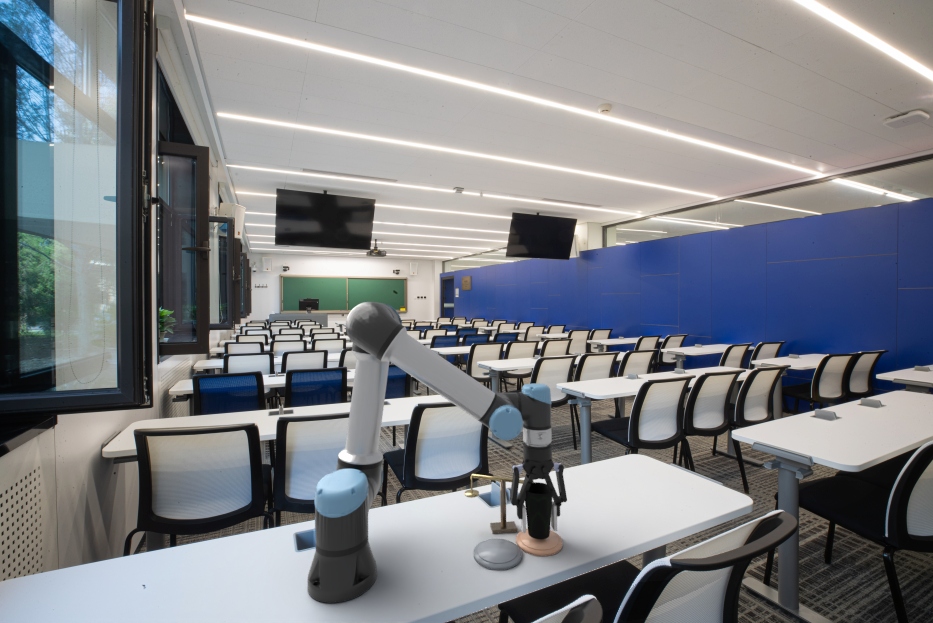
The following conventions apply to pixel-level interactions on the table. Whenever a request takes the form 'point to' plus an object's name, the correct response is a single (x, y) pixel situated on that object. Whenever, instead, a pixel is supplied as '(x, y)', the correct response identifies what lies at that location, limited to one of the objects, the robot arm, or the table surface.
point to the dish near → (497, 554)
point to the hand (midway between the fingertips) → (538, 529)
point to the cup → (538, 510)
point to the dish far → (539, 544)
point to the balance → (503, 525)
